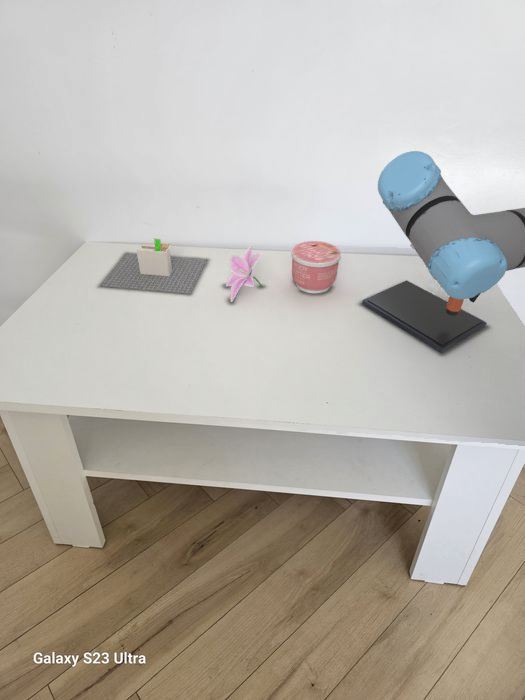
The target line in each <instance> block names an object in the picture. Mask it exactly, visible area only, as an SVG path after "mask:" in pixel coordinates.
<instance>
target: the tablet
mask: <svg viewBox="0 0 525 700" xmlns="http://www.w3.org/2000/svg"><path fill="white" fill-rule="evenodd" d="M447 302H448V300H445V299H443V298H442V297H439V296H437V295H435V294H434V293H432V292H430V291H428V290H426V289H424V288H423V287H421V286H419V285H416V284H415V283H414V282H411V281H409V280H407V279H406V280H404V281H402V282H399V283H398V284H395V285H393V286H391V287H388V288H387V289H384V290H381V291H380V292H377V293H375V294H373V295H371V296H369V297H367V298H364V299H362V301H361V305H363V306H364V307H366V308H367V309H369V310H371V311H372V312H374V313H375V314H378V315H379V316H380V317H382V318H384V319H386V321H389V322H390V323H392V324H394V325H395V326H397V327H398V328H400V329H402V330H403V331H405V332H406V333H408V334H410V335H411V336H413V337H414V338H416V339H417V340H420V341H421V342H423V343H424V344H426V345H428V346H429V347H430V348H433V349H434V350H436V351H437V352H439V353H440V354H442V353H444V352H446V351H448V350H449V349H451V348H453V347H454V346H456V345H457V344H459V343H461V342H462V341H464V340H466V339H467V338H469V337H471V336H472V335H474V334H476V333H477V332H479V331H481V330H483V329H484V328H486V327H487V324H488V322H487V321H484V320H483V319H481V318H479V317H477V316H475V315H473V314H472V313H470V312H468V311H466V310H464V309H462V308H461V310H460V311H459V312H458V314H457V315H455V316H453V315H449V314H447V313H446V309H447V308H446V305H447Z"/></svg>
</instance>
